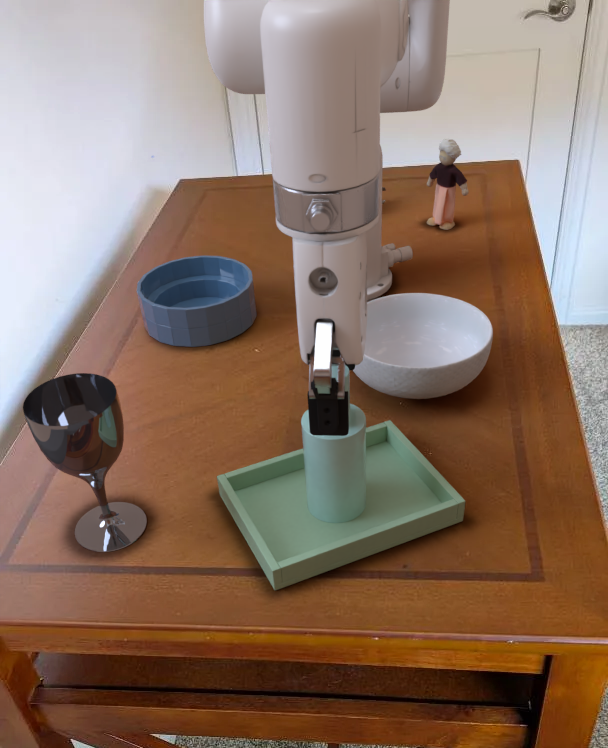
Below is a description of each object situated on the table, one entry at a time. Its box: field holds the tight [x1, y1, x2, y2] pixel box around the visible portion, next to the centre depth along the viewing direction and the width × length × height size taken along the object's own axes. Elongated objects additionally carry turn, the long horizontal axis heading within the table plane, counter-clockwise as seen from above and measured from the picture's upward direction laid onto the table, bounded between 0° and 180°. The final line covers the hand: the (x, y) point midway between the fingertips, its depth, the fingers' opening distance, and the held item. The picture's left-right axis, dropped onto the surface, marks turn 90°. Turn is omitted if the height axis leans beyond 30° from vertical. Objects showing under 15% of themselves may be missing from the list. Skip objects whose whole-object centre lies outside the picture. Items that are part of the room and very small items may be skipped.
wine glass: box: [22, 372, 148, 553], centre depth 71 cm, size 8×8×15 cm
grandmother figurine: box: [426, 138, 470, 231], centre depth 117 cm, size 8×4×13 cm, turn 55°
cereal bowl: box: [352, 292, 494, 400], centre depth 89 cm, size 17×17×7 cm
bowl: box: [136, 255, 258, 348], centre depth 102 cm, size 15×15×6 cm
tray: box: [216, 419, 466, 591], centre depth 75 cm, size 20×15×3 cm
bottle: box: [300, 365, 367, 523], centre depth 70 cm, size 6×6×15 cm
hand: (333, 399), depth 67 cm, fingers open, 9 cm apart
